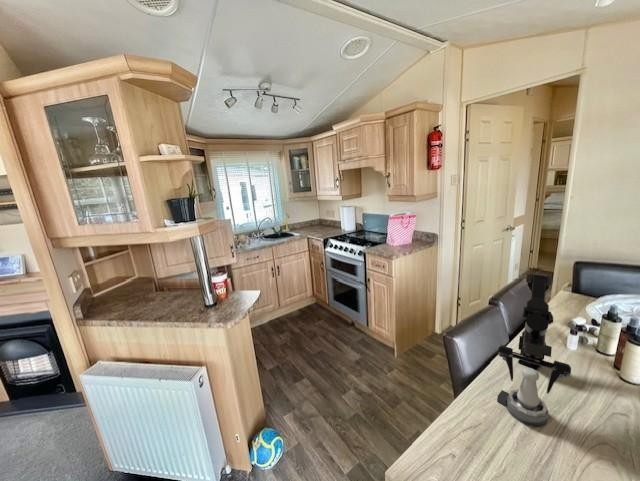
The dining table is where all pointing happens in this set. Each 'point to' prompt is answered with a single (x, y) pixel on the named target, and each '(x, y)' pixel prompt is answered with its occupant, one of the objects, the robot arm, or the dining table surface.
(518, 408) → the grey round shallow dish
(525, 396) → the salt shaker
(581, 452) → the dining table surface
